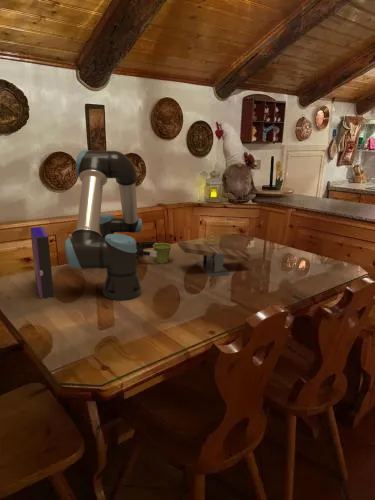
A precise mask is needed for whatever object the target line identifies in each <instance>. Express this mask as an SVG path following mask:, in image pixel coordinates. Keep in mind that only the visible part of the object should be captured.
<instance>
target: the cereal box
mask: <svg viewBox="0 0 375 500" xmlns="http://www.w3.org/2000/svg"><path fill="white" fill-rule="evenodd" d="M29 229H30V230H29V231H30V240H31V246H32V247H31V249H32V250H31V251H32V257H33V258H32V259H33V267H34V276H35V278H34V279H35V284H36V288H38V289H37V291H38V296H39V295H40V296H39V299H40V300H43V299H42V298H44V299H49V298H48V297H51V298H54V286H53V284H54V283H53V275H52V274H53V273H52V265H51V264H52V262H51V251H50V240H49V239H50V238H49V236H48V234H47V232H46V230H45V229H44V227H43V226H36V227H30V228H29Z"/></svg>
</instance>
